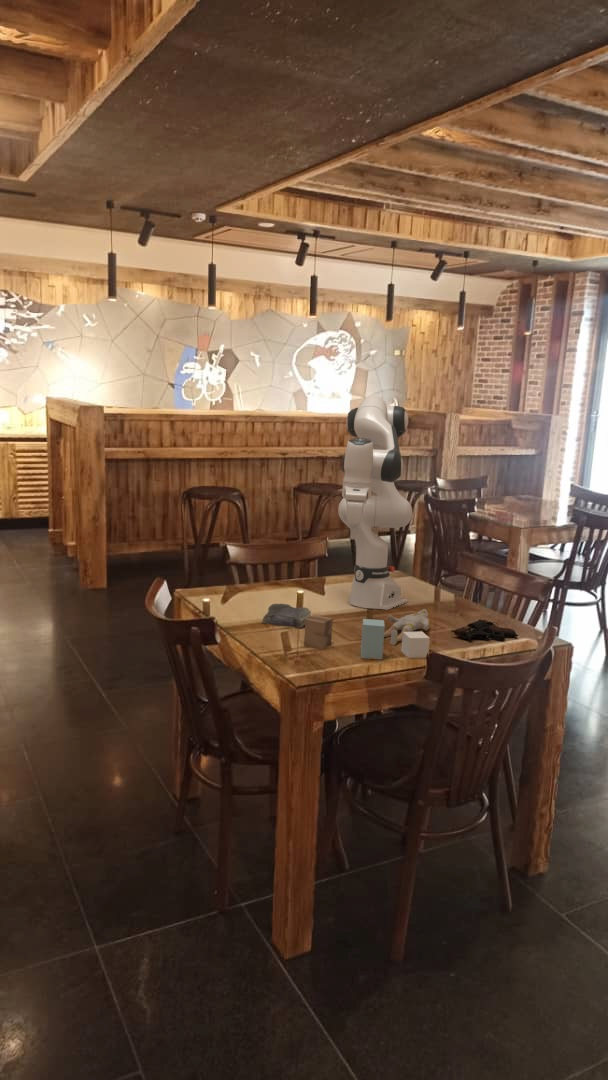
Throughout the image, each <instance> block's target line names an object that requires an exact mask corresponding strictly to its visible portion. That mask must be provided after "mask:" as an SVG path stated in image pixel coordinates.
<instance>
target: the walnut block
mask: <svg viewBox="0 0 608 1080" xmlns="http://www.w3.org/2000/svg"><path fill="white" fill-rule="evenodd" d="M333 622H334V621H333V617H332V618H331V617H328V616H327V617H326V616H321V615H318V614H314V615H312V616H311V615H310V617H309V618H307V619H305V626H304V637H303V638H304V639H303V640H304V641H303V646H304V647H309V648H314V649H318V650H324V649H325V647H326V648H327V647H329V646H332V636H333V635H332V634H333Z"/></svg>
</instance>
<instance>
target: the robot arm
mask: <svg viewBox="0 0 608 1080" xmlns="http://www.w3.org/2000/svg"><path fill="white" fill-rule="evenodd" d="M345 421H346V422H345V423H346V429H347V432H348V433H349V435H351V437H353V438H350V439H349V440H348V441H347V444H346V448H345V453H344V454H343V455H342V460H341V461H342V462H341V471H342V472H343V474H344V476H343V479H342V491H341V497H342V499H341V501H340V502H339V504H338V509H337V512H338V516H339V519H340V520H341V521H342V523H344V524H345V525H346V526H347V527H348V528H349V530H350V534H349V535H350V536H349V538H350V540H355V546H356V547H355V548H356V549H355V551H356V552H355V553H356V555H355V564H354V567H353V574H354V576H353V578H352V582H351V590H350V595H348V603H349V604H350V605H352V606H355V607H358V608H363V609H379V610H385V611H386V610H387V611H388V610H391V609H393V607H394V608H396V606H397V607H398V605H399V606H402V605H404V603H405V604H407V603H408V599H406V598H405V597H403V596H402V587H401V585H400V584H399V583H398V582H397V581H396V580H394V579H393V578H392V576H390V572H391V573H394V572H395V571H396V568H395V566H392V565H388V555H389V554H388V553H389V545H388V544H387V541H385V540H384V539H383V538H382V537H380V536H378V535H377V534H375V533H374V532H373V531H372V528H387V529H396V528H397V529H398V528H404V527H406V526H407V525H408V524H409V523H410V521H411V520H412V517H413V508H412V505H411V503H410V501H408V500H407V499H406V498H405V497H403V495H402V494H401V493H399V491H398V489H397V487H396V485H395V482H396V481H397V480H398V479H399V478H400V477H402V473H403V470H404V461H403V457H402V454H401V451H400V445H399V438H401V437H402V436H403V435H404V434H405V433H406V432H407V429H408V426H409V425H408V424H409V415H408V412H407V410H406V409H405V408H404V407H403V406H401V405H400V406H399V405H394V406H391V405H387V403H386V401H385V400H384V399H383V398H382V397H380V396H377V395H369V396H366V397H365V398H364V399H363V400H362V401H361V403H359V406H358V407H355V408H352V409H350V410H349V411H348V413H347V417H346V420H345ZM372 492H373V493H374V494H375V495H373V494H372ZM401 604H402V605H401Z"/></svg>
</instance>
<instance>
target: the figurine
mask: <svg viewBox="0 0 608 1080" xmlns="http://www.w3.org/2000/svg"><path fill="white" fill-rule="evenodd" d="M428 617H429V612H428V611H427V609H425V608H423V609H421V610H419V611H417V612H415V613H410V614H406V615H404V616H402V617H399V618H397V617H395V616H393V615H387V616H386V622H392V623H393V624H392V625H391V626H390V627H389V628H387V630H384V637H385V638H388V637H390V638H391V639H390V645H391V644H392V645H391V646H396V645H397V643H398V642H402V636H403V632H415V631H417V630H424V631H428V630H429V629H430V624H431V621H430V619H429V618H428ZM398 631H401V632H400V633H398Z"/></svg>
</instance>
